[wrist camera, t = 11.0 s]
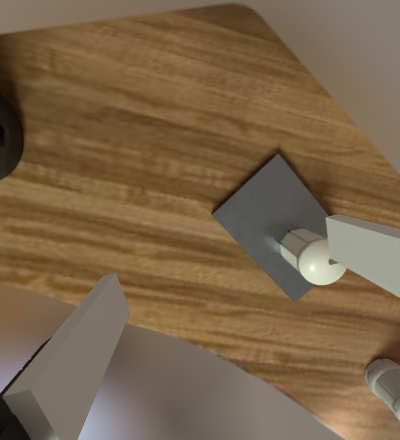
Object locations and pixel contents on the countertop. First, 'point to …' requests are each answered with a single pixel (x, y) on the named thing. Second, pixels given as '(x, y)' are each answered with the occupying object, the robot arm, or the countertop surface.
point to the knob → (311, 256)
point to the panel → (272, 220)
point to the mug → (385, 382)
